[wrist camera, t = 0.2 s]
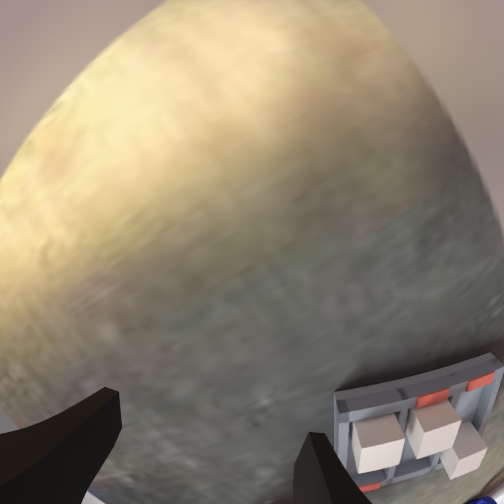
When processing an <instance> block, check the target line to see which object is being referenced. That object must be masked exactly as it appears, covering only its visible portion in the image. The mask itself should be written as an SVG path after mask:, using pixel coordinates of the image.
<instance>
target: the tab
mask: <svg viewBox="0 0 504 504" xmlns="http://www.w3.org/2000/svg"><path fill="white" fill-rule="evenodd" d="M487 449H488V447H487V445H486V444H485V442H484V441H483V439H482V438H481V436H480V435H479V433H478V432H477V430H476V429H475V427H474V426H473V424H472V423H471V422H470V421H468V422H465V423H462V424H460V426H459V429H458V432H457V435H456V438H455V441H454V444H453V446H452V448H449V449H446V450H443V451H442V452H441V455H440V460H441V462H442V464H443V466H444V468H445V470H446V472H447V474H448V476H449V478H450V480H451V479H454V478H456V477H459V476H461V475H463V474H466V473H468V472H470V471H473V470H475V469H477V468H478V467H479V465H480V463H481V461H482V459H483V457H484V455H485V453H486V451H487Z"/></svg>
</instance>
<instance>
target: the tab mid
mask: <svg viewBox="0 0 504 504" xmlns="http://www.w3.org/2000/svg"><path fill="white" fill-rule="evenodd" d="M460 423H461V418H460V417H459V415H458V414H457V412H456V411H455V409H454V408H453V407H452V405H451V404H450V402H449V401H448V399H446V400H443V401H440V402H437V403H434V404H430V405H427V406H424V407H420V408H416V407H413V408H410V409H408V413H407V419H406V424H405V429H404V431H405V433H406V436H407V438H408V440H409V443H410V445H411V447H412V449H413V452H414V454H415V456H416V459H419V458H423V457H426V456H429V455H432V454H435V453H438V452H441V451H443V450H446V449H449V448H452V446H453V444H454V441H455V438H456V435H457V432H458V429H459V426H460Z"/></svg>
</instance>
